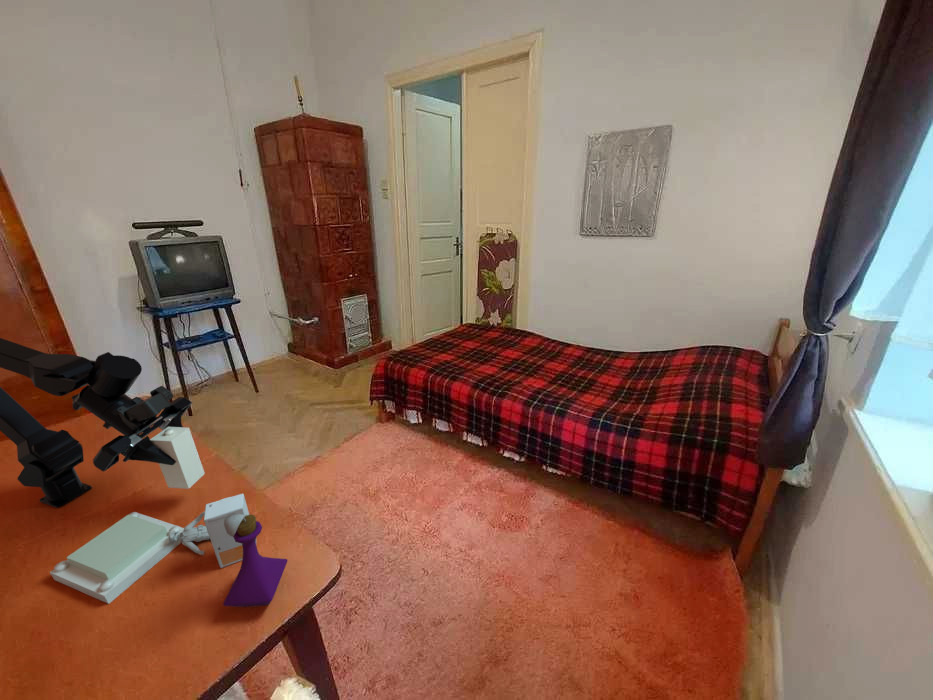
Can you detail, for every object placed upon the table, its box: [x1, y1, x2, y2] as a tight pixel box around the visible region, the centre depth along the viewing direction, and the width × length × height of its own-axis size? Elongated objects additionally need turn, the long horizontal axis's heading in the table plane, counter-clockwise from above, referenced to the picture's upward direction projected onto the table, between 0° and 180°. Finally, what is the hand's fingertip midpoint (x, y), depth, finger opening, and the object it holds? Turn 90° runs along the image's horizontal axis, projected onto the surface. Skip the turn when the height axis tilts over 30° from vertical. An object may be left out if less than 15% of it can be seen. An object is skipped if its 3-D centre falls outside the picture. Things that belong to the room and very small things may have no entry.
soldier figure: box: [169, 510, 210, 556], centre depth 73 cm, size 8×5×12 cm
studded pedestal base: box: [49, 511, 185, 605], centre depth 70 cm, size 14×14×4 cm
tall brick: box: [149, 427, 205, 490], centre depth 78 cm, size 5×5×13 cm
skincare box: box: [203, 493, 250, 569], centre depth 69 cm, size 6×4×12 cm
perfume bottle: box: [222, 513, 288, 608], centre depth 61 cm, size 8×8×18 cm
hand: (183, 455), depth 78 cm, fingers closed on tall brick, 5 cm apart
